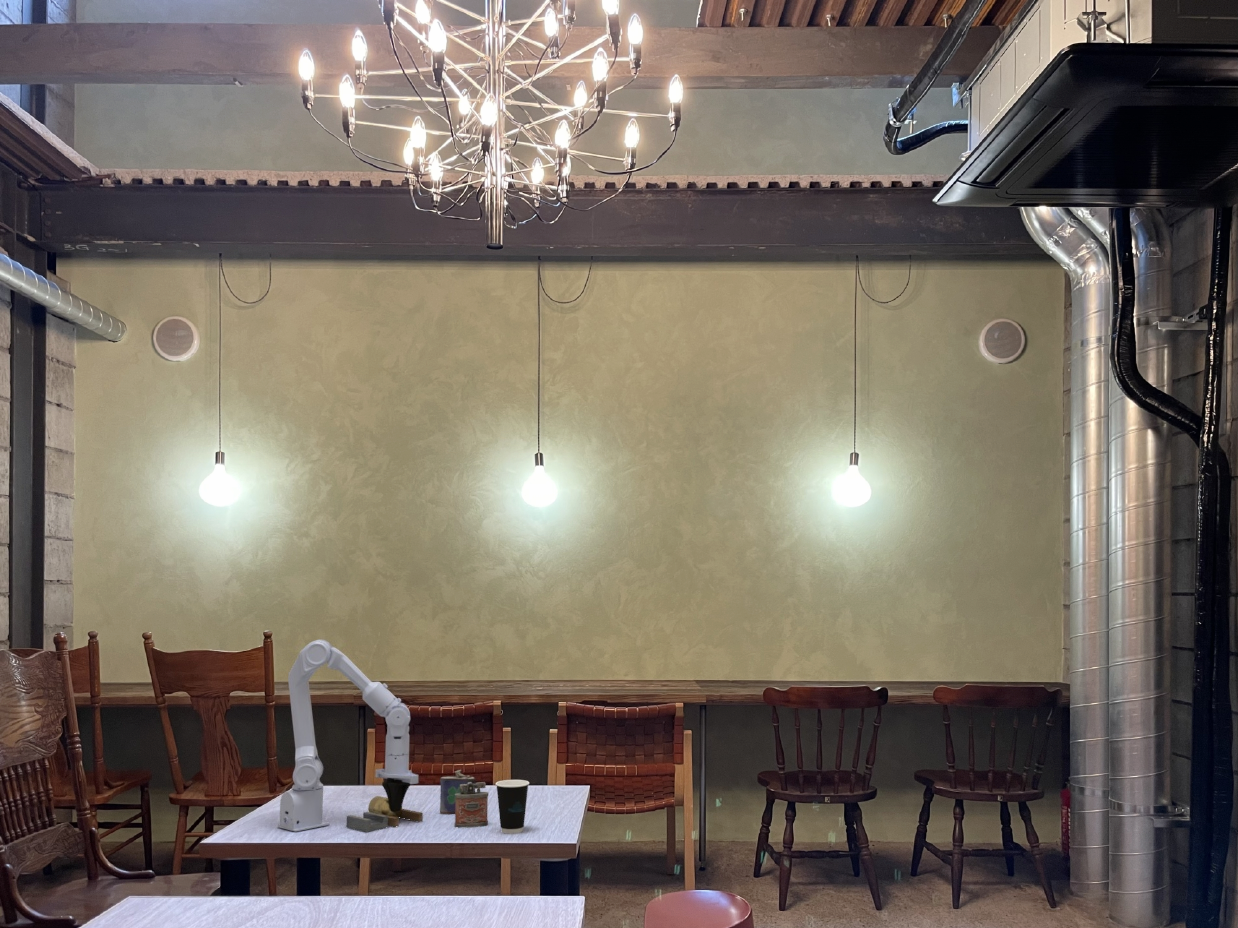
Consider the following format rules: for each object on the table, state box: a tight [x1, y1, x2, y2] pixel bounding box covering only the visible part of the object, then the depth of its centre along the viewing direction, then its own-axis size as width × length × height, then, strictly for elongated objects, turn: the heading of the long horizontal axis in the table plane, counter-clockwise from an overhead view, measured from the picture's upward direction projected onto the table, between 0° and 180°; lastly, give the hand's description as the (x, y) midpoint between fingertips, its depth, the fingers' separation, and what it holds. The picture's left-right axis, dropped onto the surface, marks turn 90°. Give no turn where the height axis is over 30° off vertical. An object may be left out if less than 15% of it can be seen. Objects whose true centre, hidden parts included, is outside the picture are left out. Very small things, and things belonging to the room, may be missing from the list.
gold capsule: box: [368, 795, 403, 819], centre depth 250 cm, size 7×5×5 cm
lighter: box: [454, 781, 489, 828], centre depth 241 cm, size 8×3×10 cm, turn 105°
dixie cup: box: [495, 779, 530, 835], centre depth 235 cm, size 8×8×11 cm
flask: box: [439, 769, 476, 815], centre depth 255 cm, size 9×3×11 cm, turn 79°
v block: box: [345, 811, 389, 833], centre depth 239 cm, size 6×8×3 cm
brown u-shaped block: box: [378, 808, 424, 828], centre depth 245 cm, size 8×8×2 cm
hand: (395, 810), depth 246 cm, fingers closed
